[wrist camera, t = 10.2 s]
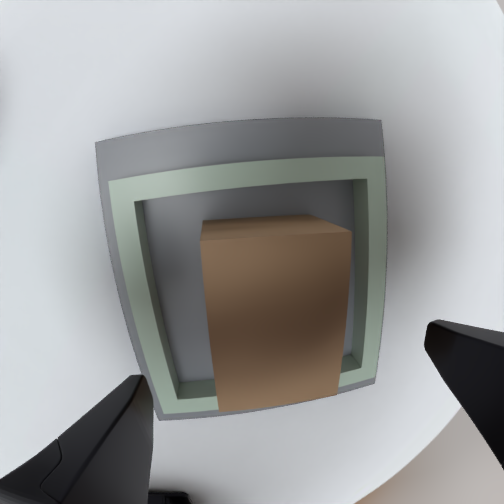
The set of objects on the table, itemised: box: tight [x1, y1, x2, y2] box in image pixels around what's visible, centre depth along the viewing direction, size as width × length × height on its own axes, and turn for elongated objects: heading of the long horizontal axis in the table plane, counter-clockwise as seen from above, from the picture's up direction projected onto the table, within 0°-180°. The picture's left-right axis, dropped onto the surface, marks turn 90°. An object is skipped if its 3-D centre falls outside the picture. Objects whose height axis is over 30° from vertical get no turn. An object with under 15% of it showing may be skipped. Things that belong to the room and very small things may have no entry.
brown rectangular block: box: [200, 214, 352, 412], centre depth 13 cm, size 7×5×4 cm
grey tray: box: [95, 118, 387, 421], centre depth 15 cm, size 16×14×2 cm
